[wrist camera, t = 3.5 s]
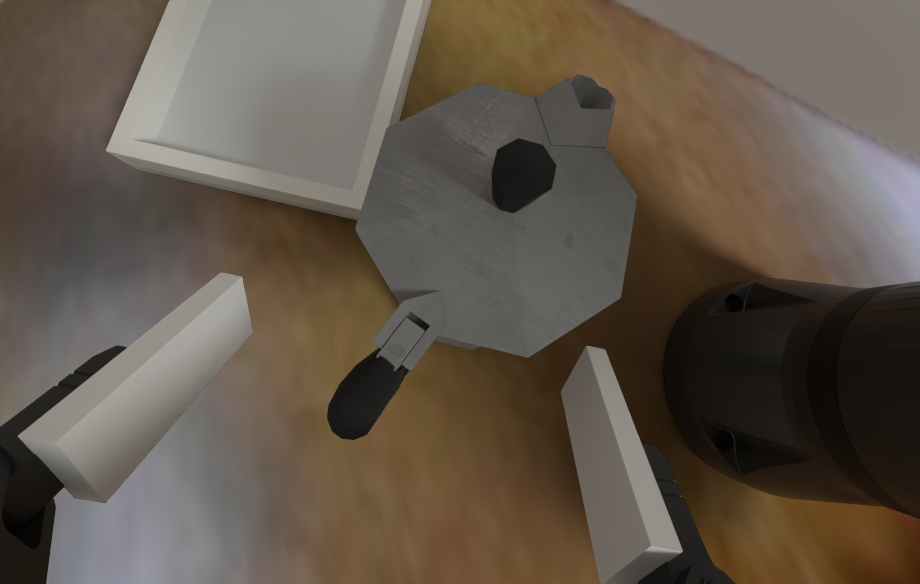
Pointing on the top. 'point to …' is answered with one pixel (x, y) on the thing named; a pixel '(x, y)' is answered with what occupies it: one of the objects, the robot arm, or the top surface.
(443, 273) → the coffeepot
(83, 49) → the top surface
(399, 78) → the docking tray
